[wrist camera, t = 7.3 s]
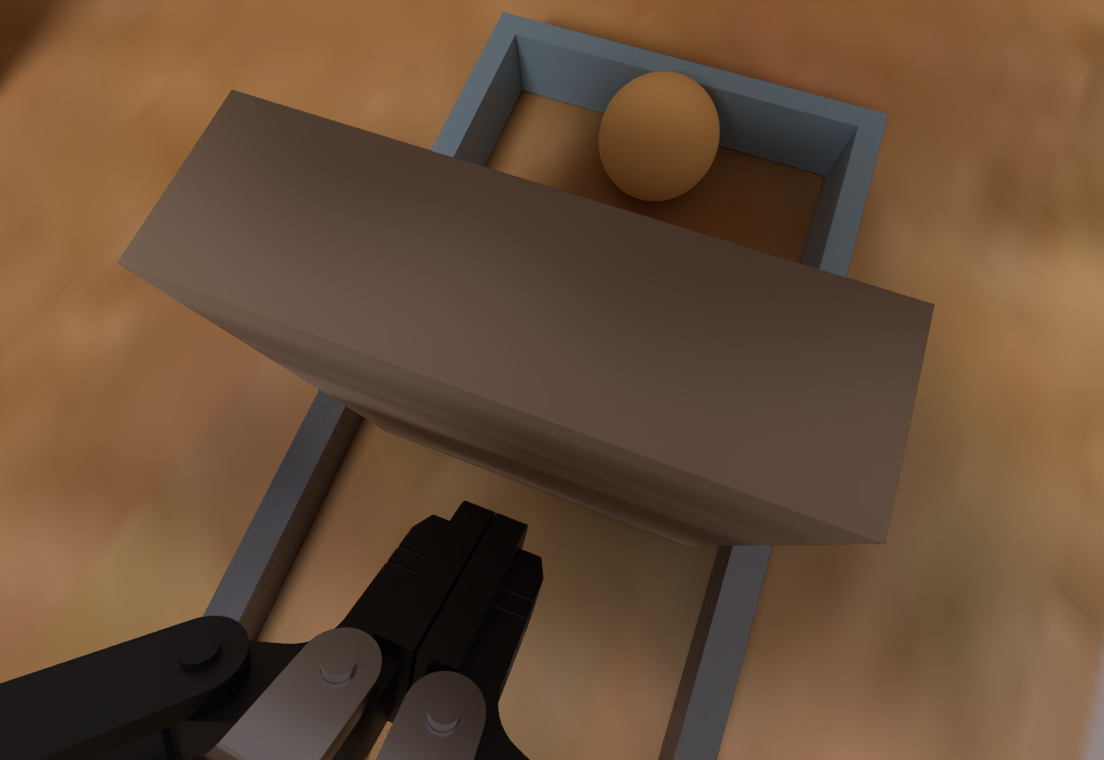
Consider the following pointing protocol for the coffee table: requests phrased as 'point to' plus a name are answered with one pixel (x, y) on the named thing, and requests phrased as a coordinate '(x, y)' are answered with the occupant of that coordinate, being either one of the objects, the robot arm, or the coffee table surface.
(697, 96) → the ball
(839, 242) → the blue-grey rectangular frame
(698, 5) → the coffee table surface
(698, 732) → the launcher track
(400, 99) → the coffee table surface
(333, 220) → the board
